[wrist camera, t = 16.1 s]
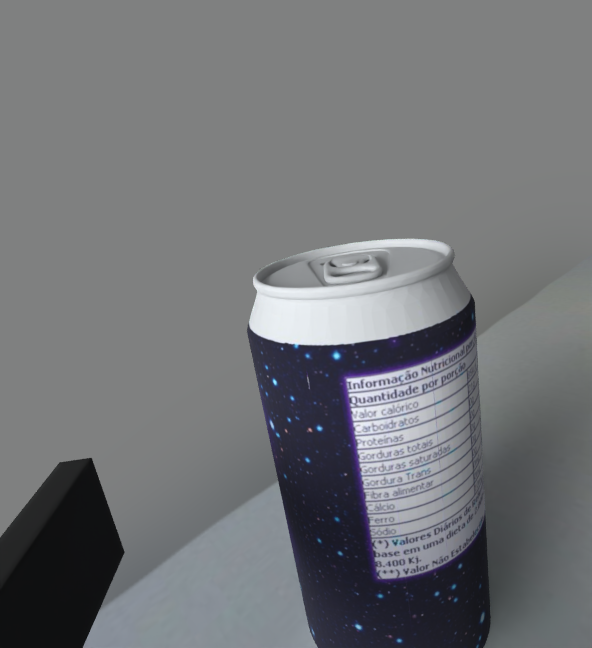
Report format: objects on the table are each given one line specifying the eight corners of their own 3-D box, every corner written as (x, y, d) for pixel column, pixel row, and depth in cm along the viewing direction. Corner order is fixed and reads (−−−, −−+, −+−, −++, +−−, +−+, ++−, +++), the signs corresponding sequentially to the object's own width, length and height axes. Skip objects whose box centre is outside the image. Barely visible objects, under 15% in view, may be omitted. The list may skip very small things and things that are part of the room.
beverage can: (461, 546, 18) (439, 226, 14) (522, 710, 13) (511, 265, 9) (312, 560, 19) (252, 256, 15) (309, 723, 13) (215, 310, 9)
